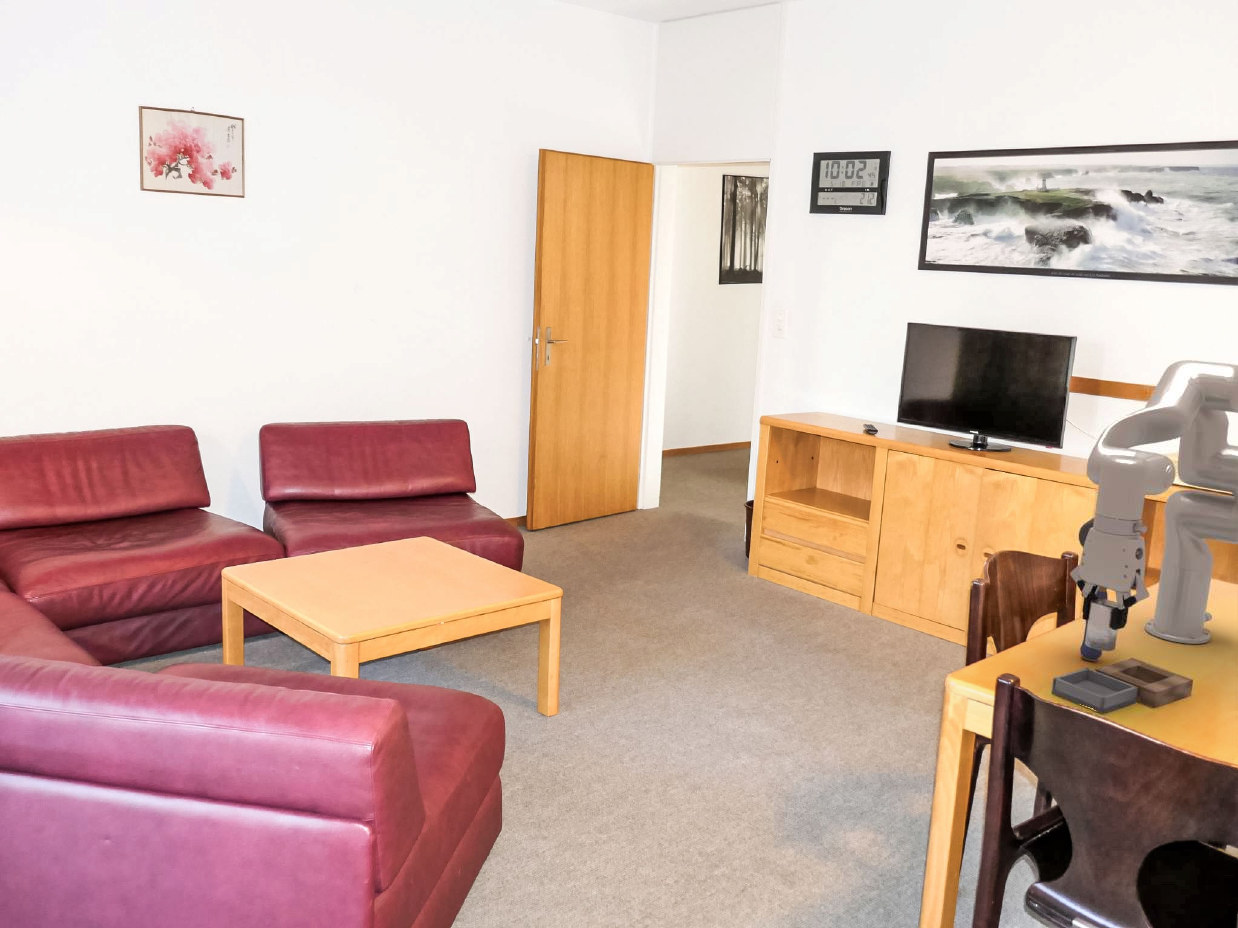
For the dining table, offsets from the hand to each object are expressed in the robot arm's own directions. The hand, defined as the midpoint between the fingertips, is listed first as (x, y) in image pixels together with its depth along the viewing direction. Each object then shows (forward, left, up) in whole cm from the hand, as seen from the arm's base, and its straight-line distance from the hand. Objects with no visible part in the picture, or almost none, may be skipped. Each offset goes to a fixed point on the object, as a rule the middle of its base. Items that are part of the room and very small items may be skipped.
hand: (1103, 622), depth 191 cm
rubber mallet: (-17, -12, -15) cm, 26 cm away
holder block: (-12, +2, -15) cm, 19 cm away
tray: (0, 0, -15) cm, 15 cm away
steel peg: (0, 0, -4) cm, 4 cm away
